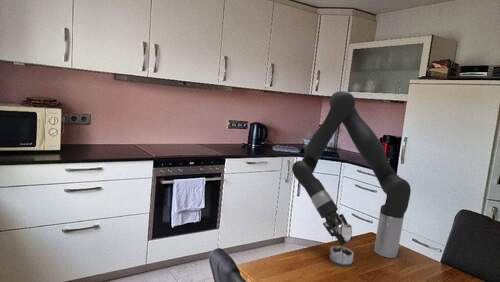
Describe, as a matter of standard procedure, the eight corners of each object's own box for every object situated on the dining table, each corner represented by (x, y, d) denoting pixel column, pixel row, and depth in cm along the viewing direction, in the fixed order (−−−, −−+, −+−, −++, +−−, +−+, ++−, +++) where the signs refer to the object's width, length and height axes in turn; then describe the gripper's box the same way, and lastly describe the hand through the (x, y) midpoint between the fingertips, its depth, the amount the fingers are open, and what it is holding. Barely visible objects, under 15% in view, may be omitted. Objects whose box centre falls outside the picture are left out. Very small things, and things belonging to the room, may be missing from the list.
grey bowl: (331, 253, 138) (333, 244, 138) (353, 259, 135) (354, 250, 134) (327, 262, 130) (328, 252, 130) (350, 268, 127) (351, 258, 126)
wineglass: (349, 259, 129) (353, 229, 127) (333, 256, 130) (338, 226, 128) (347, 252, 135) (352, 223, 133) (333, 249, 136) (337, 221, 134)
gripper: (322, 202, 129) (347, 243, 123) (338, 196, 140) (362, 233, 134) (308, 211, 133) (331, 251, 127) (325, 204, 144) (347, 241, 138)
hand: (347, 242), depth 131 cm, fingers closed on wineglass, 5 cm apart
